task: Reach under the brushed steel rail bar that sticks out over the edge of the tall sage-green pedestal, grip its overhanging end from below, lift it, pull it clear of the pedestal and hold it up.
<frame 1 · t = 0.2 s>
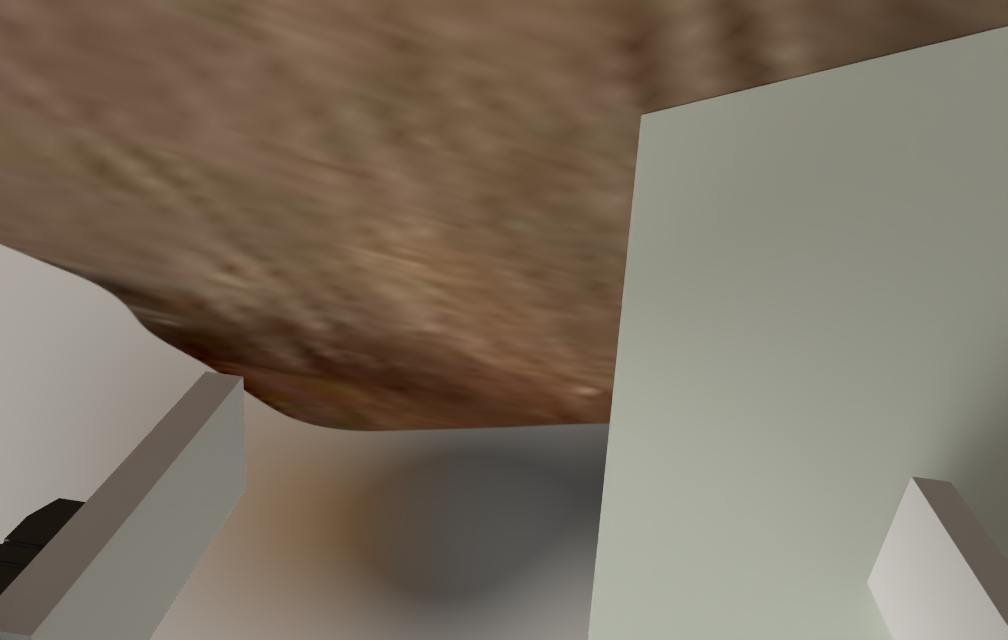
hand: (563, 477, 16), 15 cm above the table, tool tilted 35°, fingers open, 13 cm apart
pedestal: (850, 209, 30), on the table
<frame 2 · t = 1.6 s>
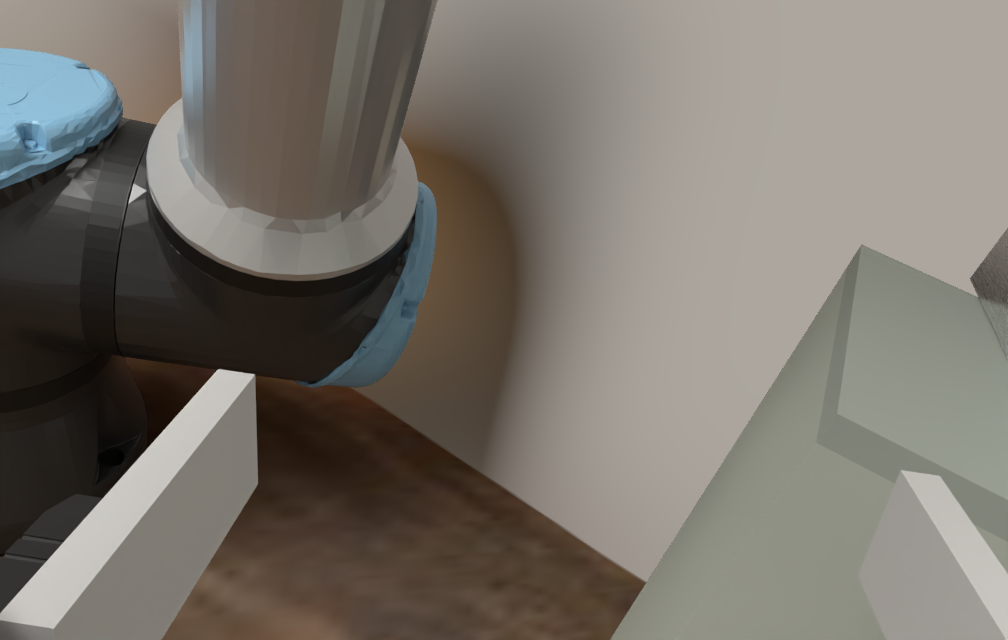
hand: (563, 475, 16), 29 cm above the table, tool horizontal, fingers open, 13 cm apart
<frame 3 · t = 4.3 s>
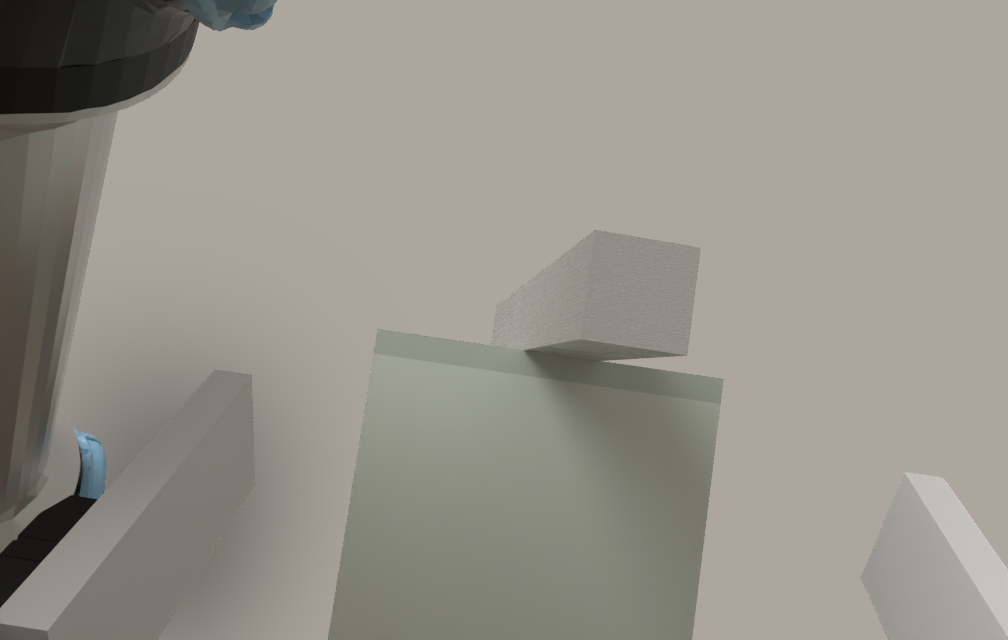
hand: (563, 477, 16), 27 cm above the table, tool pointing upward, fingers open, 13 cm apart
rail bar: (552, 356, 33), point 30 cm above the table, touching pedestal
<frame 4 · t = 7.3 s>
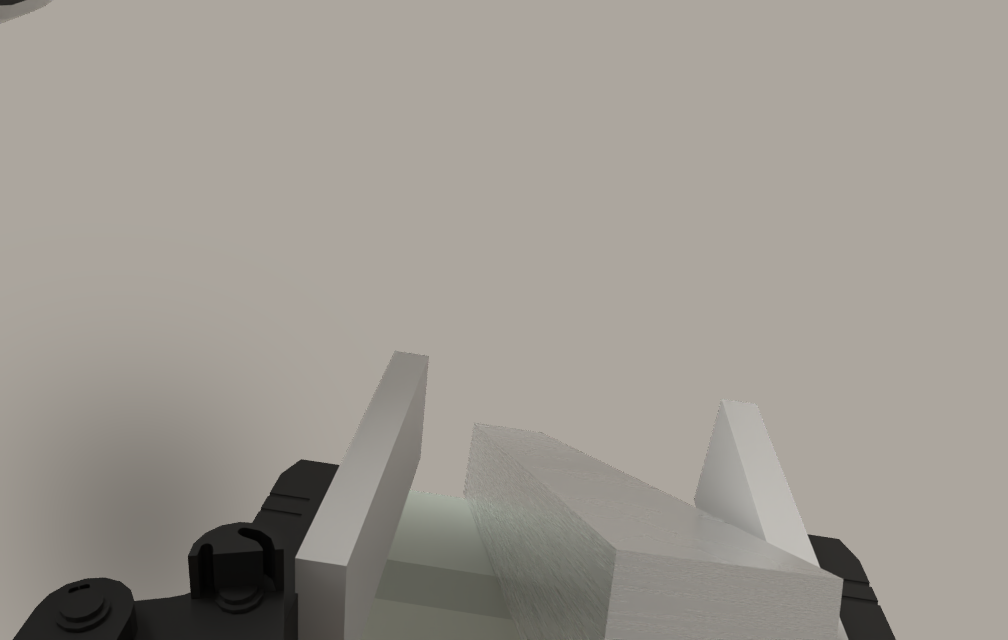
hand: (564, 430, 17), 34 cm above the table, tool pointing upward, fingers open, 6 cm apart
rail bar: (543, 567, 21), point 30 cm above the table, touching gripper, pedestal
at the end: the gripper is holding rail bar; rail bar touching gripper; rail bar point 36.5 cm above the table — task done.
